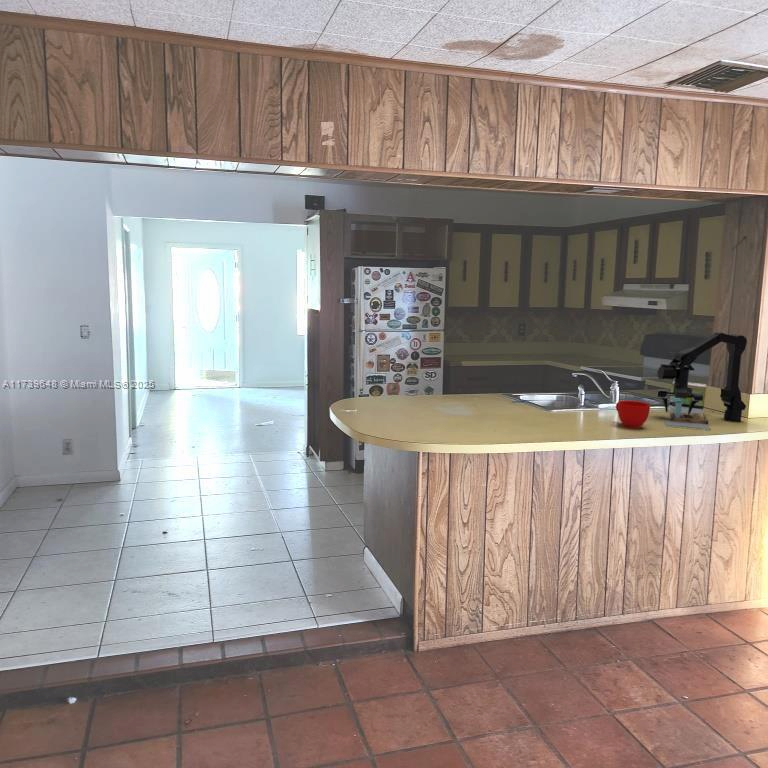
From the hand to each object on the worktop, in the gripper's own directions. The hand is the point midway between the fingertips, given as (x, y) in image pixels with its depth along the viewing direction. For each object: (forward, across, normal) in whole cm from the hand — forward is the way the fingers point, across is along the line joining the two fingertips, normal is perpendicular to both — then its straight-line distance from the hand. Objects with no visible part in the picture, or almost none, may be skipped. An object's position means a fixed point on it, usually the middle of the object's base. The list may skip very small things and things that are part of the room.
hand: (677, 413), depth 305 cm
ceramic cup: (+3, -21, -24) cm, 32 cm away
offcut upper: (+1, +9, 0) cm, 9 cm away
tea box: (+3, +5, +21) cm, 22 cm away
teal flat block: (+2, 0, 0) cm, 2 cm away
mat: (+3, +3, -13) cm, 14 cm away
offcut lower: (+2, +9, 0) cm, 9 cm away
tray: (+3, +4, 0) cm, 5 cm away
